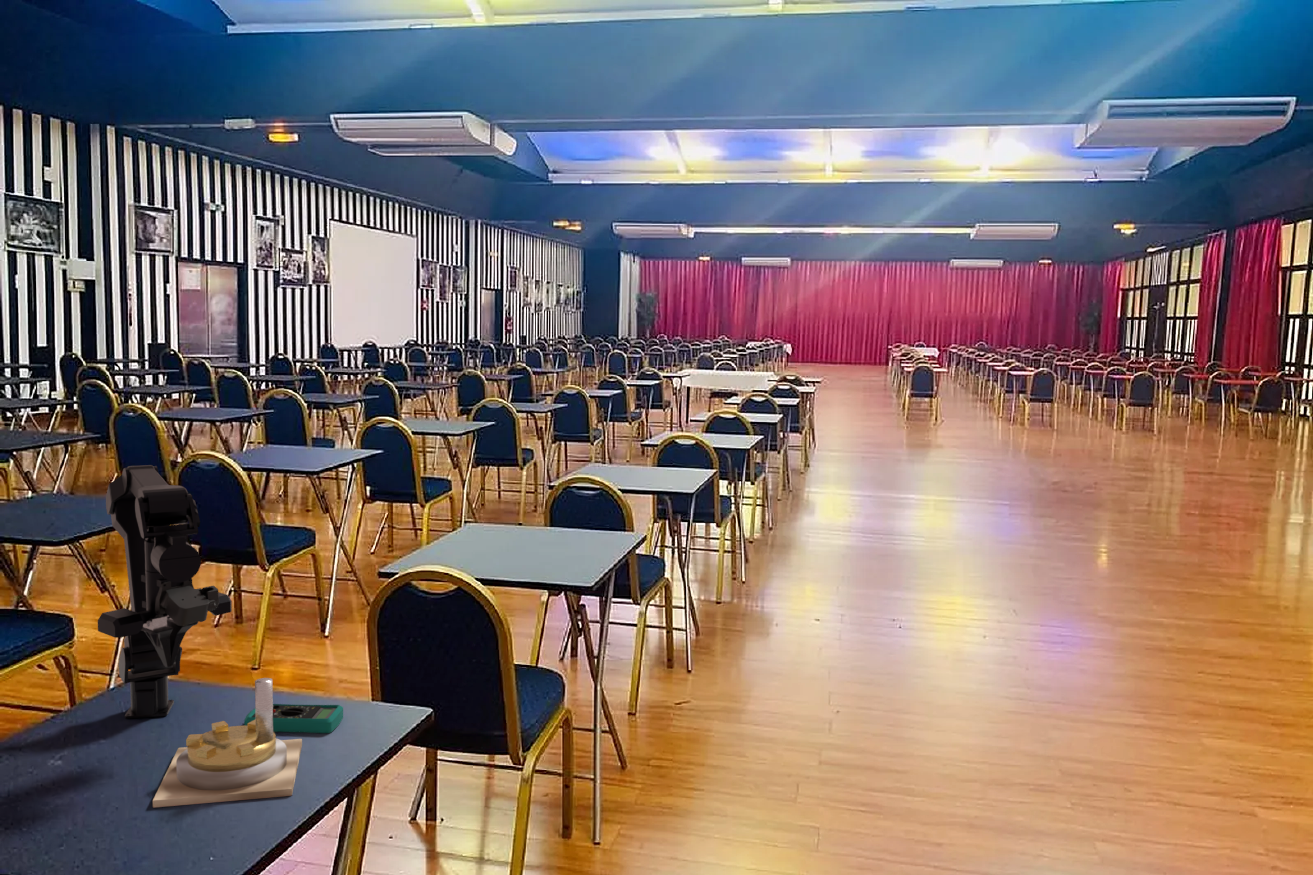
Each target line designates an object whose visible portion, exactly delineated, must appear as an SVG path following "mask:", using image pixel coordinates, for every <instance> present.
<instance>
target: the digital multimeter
mask: <svg viewBox="0 0 1313 875" xmlns="http://www.w3.org/2000/svg"><path fill="white" fill-rule="evenodd" d="M255 719H256V715H255V708H253V709H252V710H250V711H249V712H248V713H247V714H246V716H245V718H244V720H243V721H244V723H243V724H244V726H248V725H247V723H249V722H251V721H253V720H255ZM343 719H344V706H342V705H340V704H290V703H289V704H288V703H287V704H286V703H282V704H281V703H273V732H274V733H302V734H303V733H307V734H331V733H332V732H333V731H334V730H336V728H337V727H338V726H339V725H340V724H341V723H342V720H343Z"/></svg>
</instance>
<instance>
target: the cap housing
mask: <svg viewBox="0 0 1313 875" xmlns="http://www.w3.org/2000/svg"><path fill="white" fill-rule="evenodd" d="M187 747H188V746H184V747H178V748H177V750H176V752H175V754H174V756H173V758H172V759H171V763H170V764H169V767H168V768H167V770H166V773H165V775H164V776H163V779H162V781H161V783H160V785H159V787H158V789H157V791H156V793H155V795H154V797H153V799H152V808H162V807H163V808H164V807H174V806H175V807H176V806H186V805H187V806H188V805H198V804H208V803H210V804H211V803H221V802H235V801H245V800H256V799H257V800H258V799H266V798H267V799H268V798H277V797H278V798H279V797H290V796H293V792H294V786H295V783H296V782H295V781H296V777H297V773H298V772H297V771H298V768H299V762H300V757H301V753H302V747H303V739H302V738H294V739H279V738H276V752H275V754H274V755H273V756H272V757H271V758H270V759H268V760H267V761H265V762H263V763H261V764H258V765H256V766H253V767H250V768H246V769H241V770H236V771H228V772H208V771H202V770H198V769H195V768H193V767H191V766H190V765H189V763H188V750H187Z"/></svg>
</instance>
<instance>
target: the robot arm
mask: <svg viewBox="0 0 1313 875" xmlns="http://www.w3.org/2000/svg"><path fill="white" fill-rule="evenodd" d="M105 508H106V514H107V515H110V517H111V518H110V519H111V525H112V528H113V529H115V531H116V532H117V533H118V534H119V535H120V537H121V538H122V539H123V542H124V551H125V552H124V553H125V561H126V569H127V579H128V588H129V589H128V591H129V600H130V608H131V610H130V609H128V608H121V609H120V608H119V609H114V610H110V611H106V612H105V611H104V612H102V613H101V614H100V616H99V618H98V620H97V632H99V633H102V634H105V635H108V636H109V637H113V638H115V639H116V638H117V639H121V638H124V639H123V642H124V643H123V645H124V646H123V647H121V649H120V650H121V651H120V655H119V658H118V659H119V660H118V663H117V664H118V665H117V666H118V675H119V676H118V677H119V678H120V679H121V681H122V683H123V684H124V685H125V684H129V683H130V684H129V685H130V686H129V687H130V690H129V691H130V707H129V708H128V710H127V711H126V712H125V715H124V719H137V718H138V719H139V718H153V717H167V716H168V715H169V713H170V711H171V709H172V708H173V706H174V703H175V701H174V699H169V680H168V679H169V677H172V676H178V675H179V673H180V672H181V658H182V653H183V648H182V646H181V644H182V642H183V639H184V637H185V635H186V633H187V632H188V631H189V630H190V629H191V628H193V626H197V625H198V624H199V623H202V622H206V620H207V618H208V617H207V616H208V612H209V613H211V614H212V615H213V616H220V615H224V614H227V613H228V614H230V613H231V612H232V610H233V608H232V607H233V606H232V603H233V602H232V600H231V597H230V596H229V595H228V594H226V593H222V592H219V589H218V588H217V587H216V586H215V585H210V586H209V585H208V586H205V587H202V588H201V587H200V588H195V587H194V584H193V578H194V577H195V576H196V575H197V574H198V572H199V570H200V568H201V566H202V558H201V555H200V553H199V552H198V550H197V549H196V548H195V547H194V546H192V545H191V544H190V543H189V540H188V538H189V536H190V535H198V534H199V528H200V526H201V520H200V516H199V512H198V507H197V504H196V500H194V499H193V495H192V494H191V493H189V492H188V490H187V488H186V487H184V486H182V485H177V484H176V485H174V484H173V485H172V484H171V485H170V484H168V482H166V481H165V479H164V478H163V477H162V476H161V475H160V474H159V468H158V466H157V465H155V466H153V465H152V464H148V465H146V464H145V465H128V466H127V467H124V468H123V469H122V474H121V475H119V477H117V478H115V479H114V480H113V481H111V482H110V483H109V484H108V487H107V491H106V495H105Z"/></svg>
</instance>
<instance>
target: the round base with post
mask: <svg viewBox="0 0 1313 875" xmlns="http://www.w3.org/2000/svg"><path fill="white" fill-rule="evenodd" d="M273 691H274V690H273V678H270V677H263V678H257V679H256V680H254V695H255V696H254V697H255V699H254V701H255V702H254V703H255V704H254V705H255V708H254V709H255V715H256V719H255V720H253V721H251V722H249V723H247V725H248V726H245V725H232V726H229V724H228V723H227V722H226V721H225V720H221V721H217V722H212V723H211V730H209V731H206V732H204V733H198V734H196V733H195V734H193V733H192V734H189V735H188V736H187V738H186V739H185V741H186V742H185V743H186V744H185V745H186V746H185V747H187V750H188V763H189V765H190V766H191V767H193V768H195V769H198V770H202V771H208V772H228V771H236V770H241V769H246V768H250V767H253V766H256V765H258V764H261V763H263V762H265V761H267V760H268V759H270V758H271V757H272V756H273V755H274V754H275V752H276V736H277V735H276V732H273V704H274V701H273V698H274V697H273V696H274V693H273Z"/></svg>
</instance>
